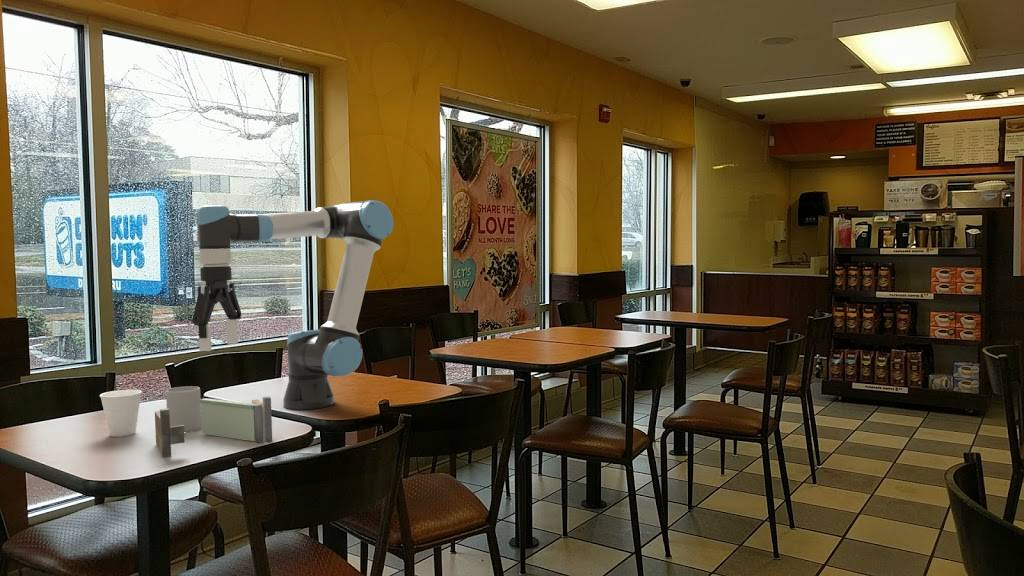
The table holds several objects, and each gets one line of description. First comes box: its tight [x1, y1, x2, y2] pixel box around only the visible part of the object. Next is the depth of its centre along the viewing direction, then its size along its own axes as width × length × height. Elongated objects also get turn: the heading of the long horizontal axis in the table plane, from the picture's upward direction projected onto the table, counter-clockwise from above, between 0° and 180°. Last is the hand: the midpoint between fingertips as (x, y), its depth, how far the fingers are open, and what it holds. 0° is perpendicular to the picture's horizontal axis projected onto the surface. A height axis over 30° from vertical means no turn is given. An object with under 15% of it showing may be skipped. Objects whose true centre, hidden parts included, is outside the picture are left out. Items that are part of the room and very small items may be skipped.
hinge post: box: [251, 396, 273, 443], centre depth 194 cm, size 2×14×11 cm, turn 32°
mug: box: [165, 385, 202, 433], centre depth 204 cm, size 12×8×11 cm
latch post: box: [154, 407, 186, 458], centre depth 181 cm, size 5×15×11 cm, turn 32°
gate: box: [200, 398, 264, 443], centre depth 192 cm, size 21×2×9 cm, turn 62°
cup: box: [99, 389, 143, 438], centre depth 198 cm, size 10×10×11 cm
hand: (219, 347), depth 196 cm, fingers open, 13 cm apart
